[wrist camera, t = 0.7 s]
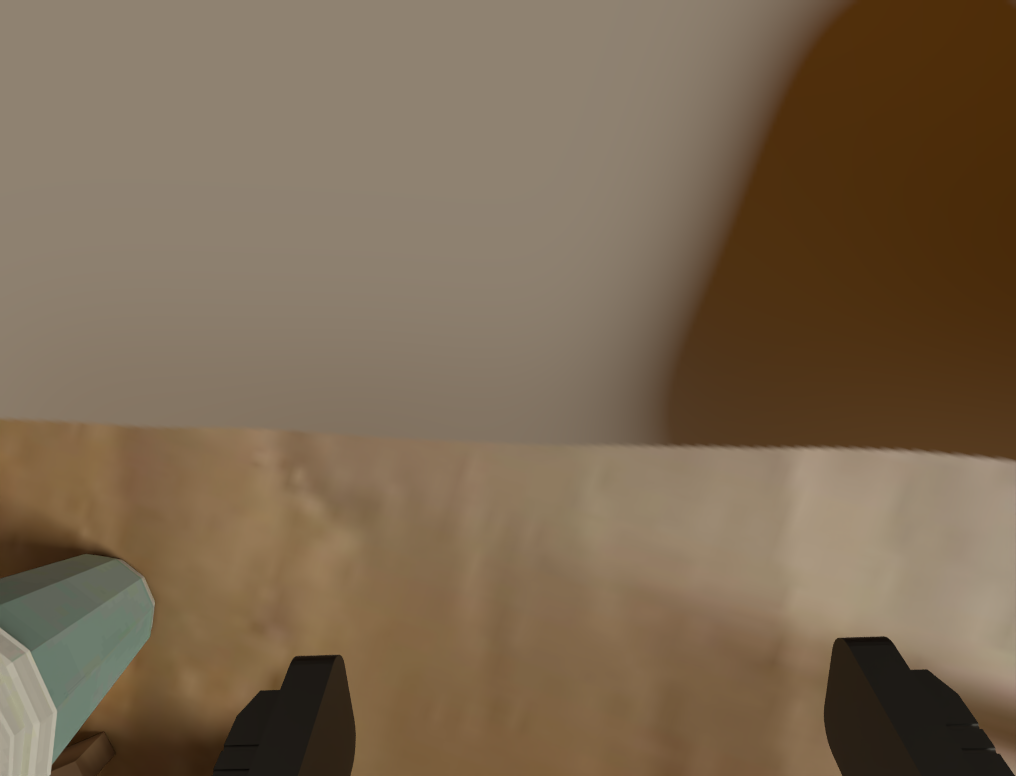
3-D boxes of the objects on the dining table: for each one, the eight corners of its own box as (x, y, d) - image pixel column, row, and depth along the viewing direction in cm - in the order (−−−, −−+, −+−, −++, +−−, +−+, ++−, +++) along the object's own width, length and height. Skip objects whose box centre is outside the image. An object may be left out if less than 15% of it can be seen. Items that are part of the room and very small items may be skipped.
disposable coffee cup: (201, 685, 45) (46, 870, 30) (20, 702, 45) (-224, 896, 30) (175, 508, 44) (1, 609, 29) (-10, 527, 44) (-278, 636, 29)
